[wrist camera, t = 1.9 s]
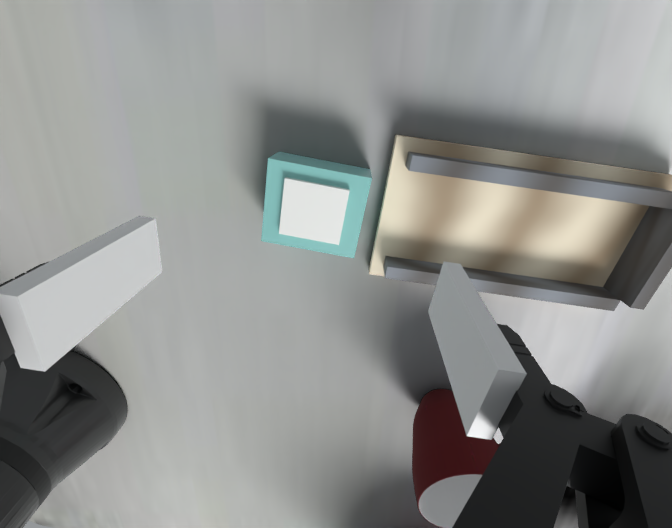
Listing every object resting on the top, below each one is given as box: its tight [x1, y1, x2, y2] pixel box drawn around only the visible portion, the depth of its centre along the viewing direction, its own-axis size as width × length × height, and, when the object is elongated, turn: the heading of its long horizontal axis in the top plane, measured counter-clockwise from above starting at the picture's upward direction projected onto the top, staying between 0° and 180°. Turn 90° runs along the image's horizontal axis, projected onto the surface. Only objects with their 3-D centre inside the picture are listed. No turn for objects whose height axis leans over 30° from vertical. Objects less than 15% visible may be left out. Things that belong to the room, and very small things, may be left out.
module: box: [261, 152, 372, 258], centre depth 24 cm, size 7×6×4 cm
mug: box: [412, 389, 501, 528], centre depth 30 cm, size 10×8×10 cm
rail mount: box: [369, 135, 672, 311], centre depth 24 cm, size 20×11×4 cm, turn 83°
